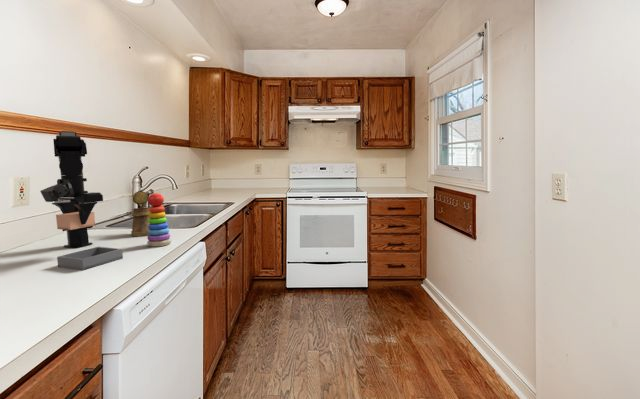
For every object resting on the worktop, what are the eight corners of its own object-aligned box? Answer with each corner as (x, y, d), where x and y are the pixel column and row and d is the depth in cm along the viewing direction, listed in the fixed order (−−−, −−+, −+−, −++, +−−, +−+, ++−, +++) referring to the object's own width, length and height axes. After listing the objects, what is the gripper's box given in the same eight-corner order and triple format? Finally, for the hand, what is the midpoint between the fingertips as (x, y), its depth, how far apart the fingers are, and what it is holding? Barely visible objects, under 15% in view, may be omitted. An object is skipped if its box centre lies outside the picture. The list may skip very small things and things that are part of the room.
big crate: (58, 266, 98) (57, 256, 98) (99, 255, 110) (98, 246, 109) (83, 270, 95) (82, 259, 94) (122, 258, 106) (122, 248, 106)
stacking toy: (175, 242, 127) (172, 192, 125) (164, 247, 120) (160, 194, 118) (155, 242, 128) (152, 192, 126) (142, 247, 120) (138, 194, 118)
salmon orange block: (57, 229, 107) (55, 214, 107) (82, 224, 115) (81, 211, 114) (70, 229, 105) (69, 215, 105) (95, 225, 113) (94, 211, 112)
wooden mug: (154, 229, 153) (151, 189, 151) (155, 235, 141) (152, 191, 139) (131, 231, 149) (128, 190, 147) (131, 237, 137) (127, 193, 135)
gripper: (24, 176, 104) (29, 227, 106) (65, 176, 98) (70, 230, 99) (62, 175, 114) (66, 221, 116) (102, 174, 108) (106, 223, 110)
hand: (76, 223), depth 110 cm, fingers closed on salmon orange block, 6 cm apart
